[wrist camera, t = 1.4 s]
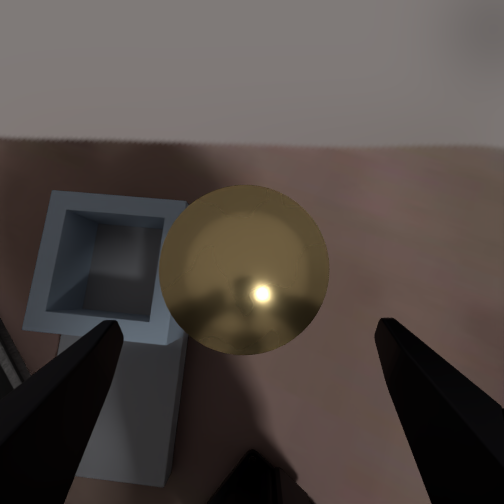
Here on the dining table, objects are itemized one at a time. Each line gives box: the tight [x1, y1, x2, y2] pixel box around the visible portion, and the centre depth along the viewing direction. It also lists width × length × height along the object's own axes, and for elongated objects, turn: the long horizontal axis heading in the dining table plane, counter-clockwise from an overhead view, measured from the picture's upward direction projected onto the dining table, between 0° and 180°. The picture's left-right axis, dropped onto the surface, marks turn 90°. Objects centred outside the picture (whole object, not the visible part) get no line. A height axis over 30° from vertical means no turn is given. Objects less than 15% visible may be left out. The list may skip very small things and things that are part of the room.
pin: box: [159, 185, 329, 355], centre depth 15 cm, size 5×5×13 cm
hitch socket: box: [22, 190, 189, 488], centre depth 19 cm, size 18×9×5 cm, turn 175°
